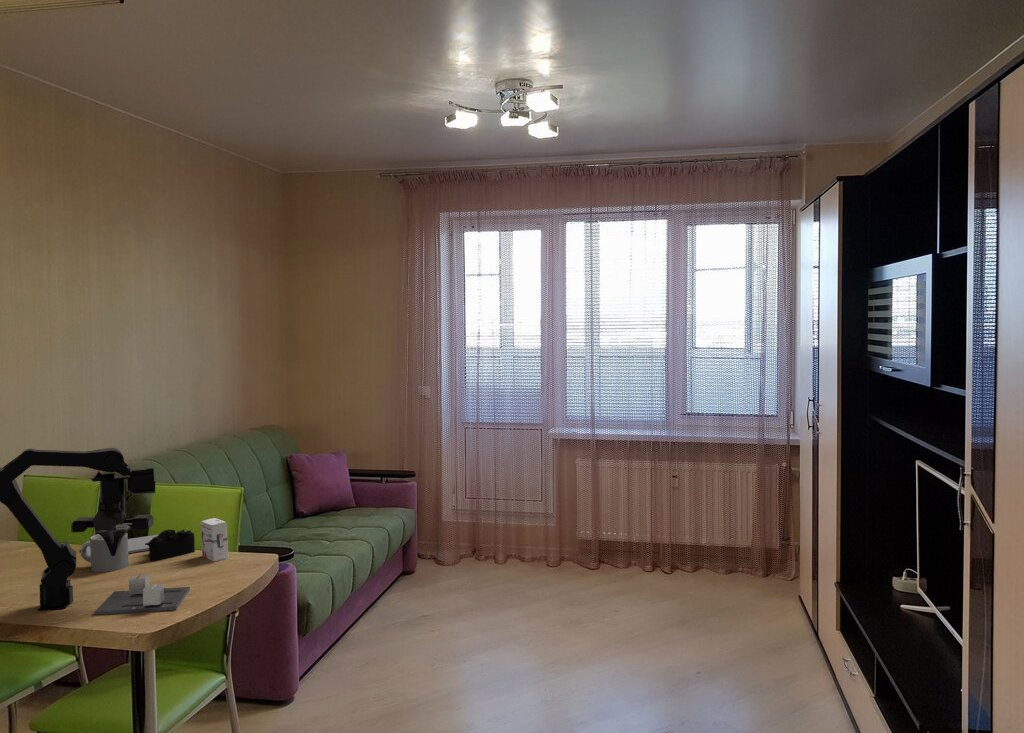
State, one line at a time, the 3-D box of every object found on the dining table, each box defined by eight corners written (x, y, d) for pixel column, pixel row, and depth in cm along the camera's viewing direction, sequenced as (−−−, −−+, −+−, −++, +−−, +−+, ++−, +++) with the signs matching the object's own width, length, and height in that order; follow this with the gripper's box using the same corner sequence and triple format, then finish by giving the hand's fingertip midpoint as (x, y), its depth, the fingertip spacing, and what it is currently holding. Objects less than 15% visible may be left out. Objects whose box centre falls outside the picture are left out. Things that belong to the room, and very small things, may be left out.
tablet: (80, 553, 257) (79, 546, 257) (165, 540, 273) (165, 533, 273) (90, 564, 244) (90, 557, 244) (179, 549, 260) (179, 542, 260)
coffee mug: (136, 565, 241) (135, 532, 240) (111, 575, 231) (110, 541, 231) (99, 562, 244) (98, 530, 244) (73, 572, 235) (72, 538, 234)
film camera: (183, 549, 259) (182, 521, 259) (198, 554, 253) (197, 526, 253) (136, 559, 248) (135, 530, 247) (151, 565, 242) (150, 535, 241)
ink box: (200, 558, 248) (200, 520, 248) (216, 554, 252) (215, 517, 252) (213, 563, 242) (212, 524, 242) (229, 560, 246) (228, 521, 245)
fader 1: (129, 594, 209) (128, 578, 209) (133, 589, 213) (133, 574, 213) (145, 593, 210) (145, 577, 210) (149, 588, 214) (149, 573, 214)
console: (94, 615, 197) (94, 611, 197) (114, 595, 213) (114, 591, 213) (176, 610, 201) (176, 605, 201) (189, 590, 217) (189, 586, 217)
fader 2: (143, 605, 200) (142, 589, 200) (147, 600, 204) (147, 584, 204) (160, 604, 201) (159, 588, 201) (164, 599, 205) (163, 583, 205)
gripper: (62, 504, 200) (63, 566, 200) (142, 501, 203) (143, 562, 204) (78, 495, 211) (79, 554, 211) (153, 493, 214) (154, 550, 215)
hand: (113, 555), depth 210 cm, fingers closed
